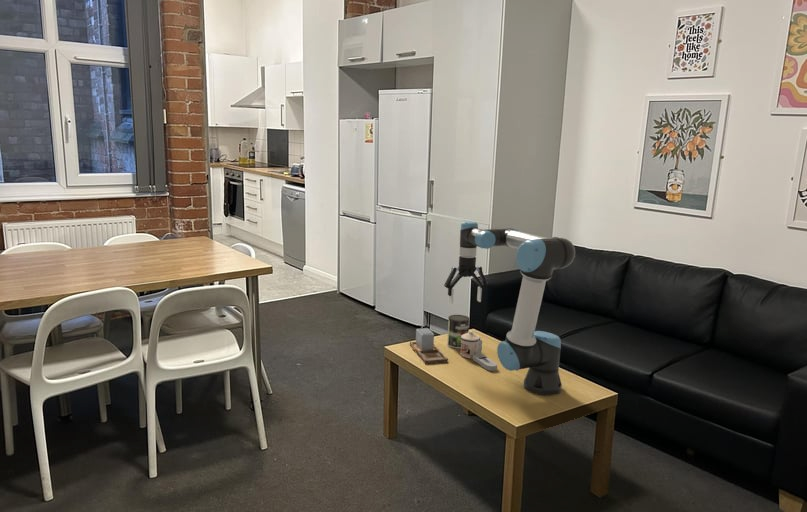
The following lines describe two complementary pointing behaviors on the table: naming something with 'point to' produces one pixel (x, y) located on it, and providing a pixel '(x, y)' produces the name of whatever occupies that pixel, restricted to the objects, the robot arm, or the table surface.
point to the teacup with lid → (469, 344)
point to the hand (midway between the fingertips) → (465, 302)
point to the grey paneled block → (424, 339)
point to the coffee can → (457, 330)
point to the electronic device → (484, 359)
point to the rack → (429, 354)
